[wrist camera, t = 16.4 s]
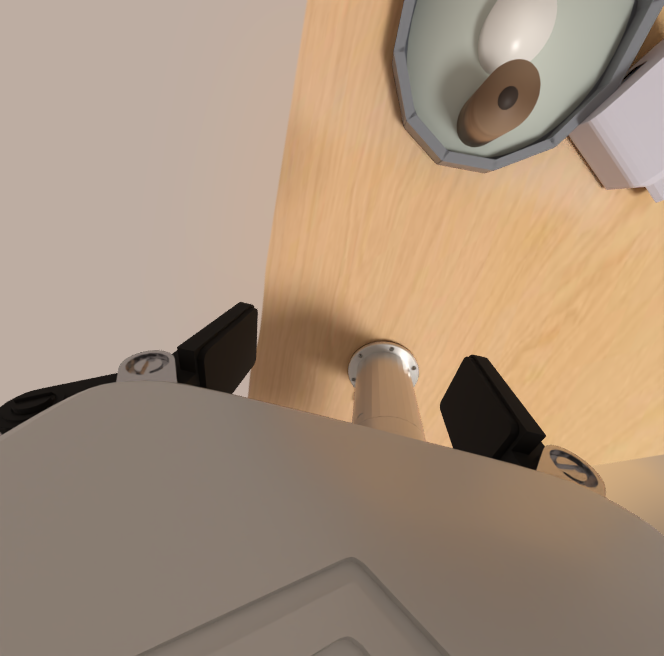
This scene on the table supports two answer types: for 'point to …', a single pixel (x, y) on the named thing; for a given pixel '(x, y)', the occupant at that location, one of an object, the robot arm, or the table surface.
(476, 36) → the tray
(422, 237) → the table surface
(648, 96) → the charger
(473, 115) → the bead
